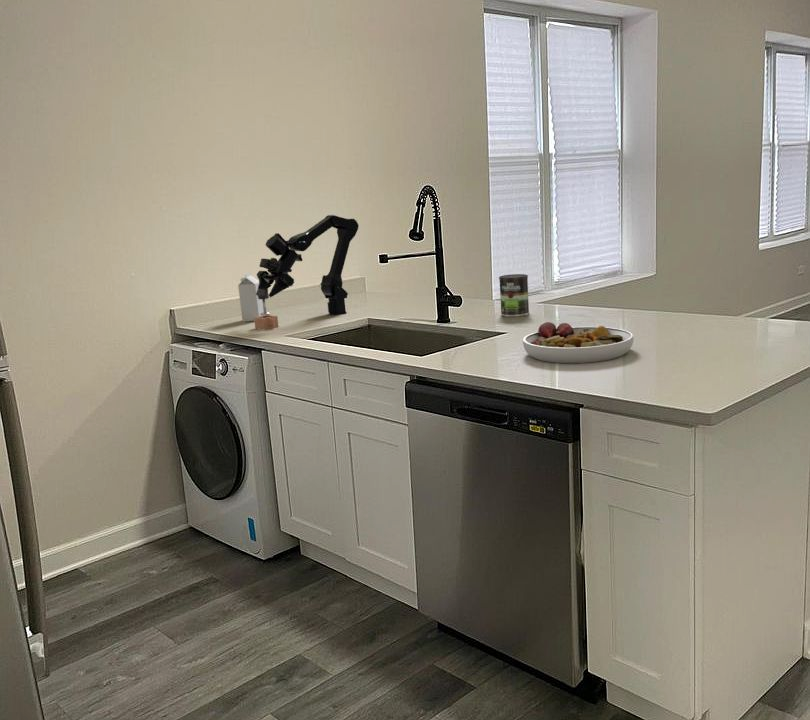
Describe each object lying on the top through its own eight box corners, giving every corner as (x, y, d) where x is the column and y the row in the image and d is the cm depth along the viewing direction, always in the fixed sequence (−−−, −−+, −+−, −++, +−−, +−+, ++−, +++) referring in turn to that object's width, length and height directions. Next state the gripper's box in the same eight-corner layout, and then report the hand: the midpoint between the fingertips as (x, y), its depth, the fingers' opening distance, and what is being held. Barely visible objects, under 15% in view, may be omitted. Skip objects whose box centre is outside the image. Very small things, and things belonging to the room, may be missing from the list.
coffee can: (525, 316, 299) (523, 277, 296) (497, 317, 303) (495, 278, 300) (532, 311, 308) (530, 273, 305) (505, 312, 312) (503, 274, 309)
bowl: (657, 351, 231) (656, 322, 229) (580, 371, 214) (579, 341, 212) (575, 339, 255) (574, 313, 253) (501, 357, 238) (500, 330, 237)
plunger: (267, 313, 323) (264, 288, 321) (272, 314, 320) (269, 288, 318) (258, 315, 321) (255, 289, 319) (263, 315, 318) (260, 290, 316)
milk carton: (264, 318, 346) (258, 272, 342) (259, 321, 339) (254, 274, 335) (247, 319, 347) (241, 273, 343) (242, 322, 340) (236, 275, 336)
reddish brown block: (269, 325, 326) (268, 314, 325) (282, 327, 319) (281, 316, 318) (255, 328, 322) (253, 317, 321) (267, 330, 315) (266, 319, 314)
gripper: (258, 249, 326) (236, 281, 321) (284, 250, 312) (261, 283, 307) (277, 267, 332) (256, 299, 328) (303, 269, 318) (282, 302, 314)
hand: (263, 295), depth 319 cm, fingers open, 9 cm apart
